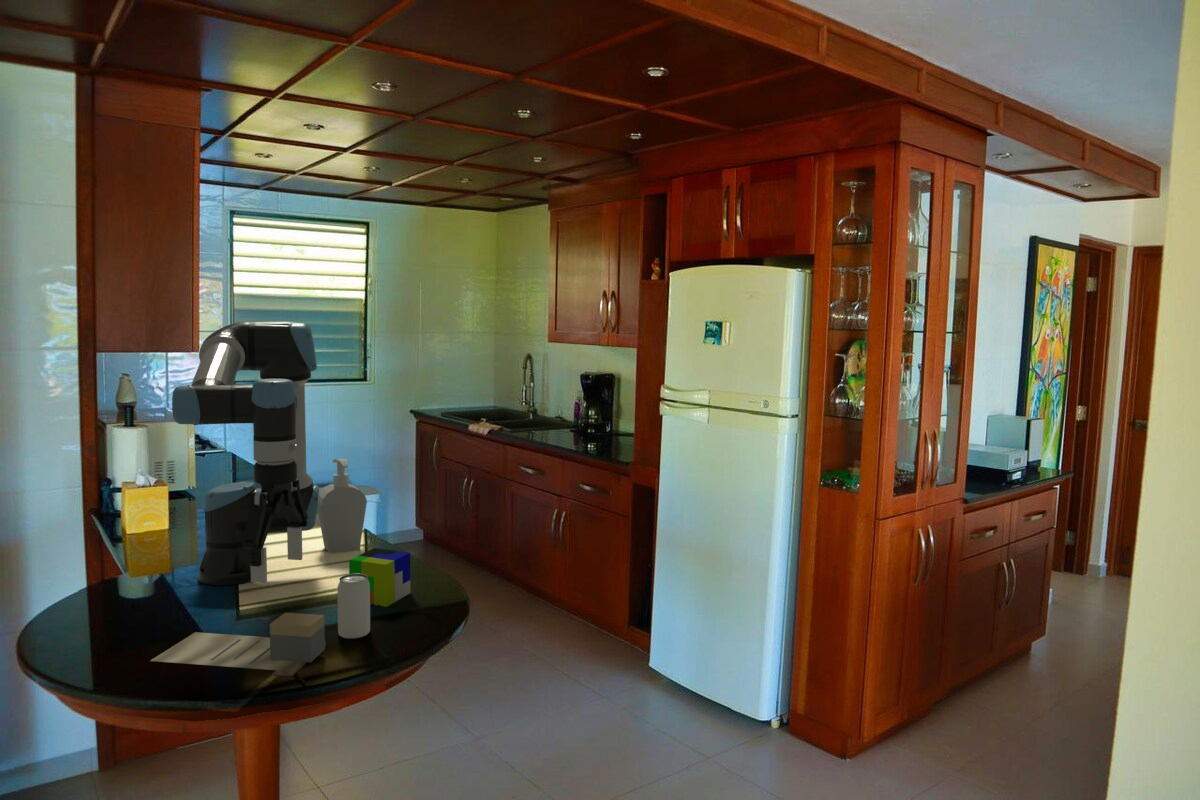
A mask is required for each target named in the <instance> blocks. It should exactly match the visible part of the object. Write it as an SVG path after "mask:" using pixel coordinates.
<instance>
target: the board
mask: <svg viewBox="0 0 1200 800" xmlns="http://www.w3.org/2000/svg"><path fill="white" fill-rule="evenodd" d="M326 645H327V644H326V640H325V647H327V646H326ZM149 662H156V663H157V662H158V663H169V664H171V663H173V664H186V665H199V666H211V667H212V666H215V667H224V668H225V667H227V668H241V669H242V668H243V669H253V670H255V669H256V670H266V671H267V670H268V671H273V672H272V673H271V674H270V675H271V676H280V677H281V676H282V677H283V676H284V677H293V676H294V675H295V674H296V673H297V672H298V671H299V670H301V668H303V667H304V666H305V665H306V664H307V663H308V662H297V661H283V660H271V657H270V636H257V635H256V636H255V635H241V634H230V633H229V634H227V633H226V634H225V633H224V634H223V633H214V632H213V633H212V632H197V631H195V632H193V633H191V634H190V635H189V636H187V637H184V638H183V639H182V640H181V641H179V642H177V643H176V644H174V645H172V646H171V647H170V648H168V649H167V650H165V651H164V652H161V653H160V654H158V655H157V656H155V657H154V658H151V659H150V660H149Z"/></svg>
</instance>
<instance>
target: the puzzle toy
mask: <svg viewBox="0 0 1200 800" xmlns="http://www.w3.org/2000/svg"><path fill="white" fill-rule="evenodd" d="M348 570H349V571H348V574H364V575H366V576H367V577H368V578H367V580H368V581H369V584H370V605H372V604H374V605H373V606H378V605H380V606H379V607H385V608H387V607H388V606H391V605H392V604H394V603H396V602H397V601H399V600H401V599H403V598H404V597H406V596H407V595H410V594H411V552H407V551H399V550H393V549H386V548H385V549H384V548H375V547H373V548H372V549H369V550H368V551H365V552H362V553H360V554H359V555H356V556H354V557H352V558H350V559H348Z"/></svg>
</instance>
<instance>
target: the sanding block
mask: <svg viewBox="0 0 1200 800" xmlns="http://www.w3.org/2000/svg"><path fill="white" fill-rule="evenodd" d="M325 628H326V627H325V614H314V613H313V614H312V613H300V612H299V613H294V612H284V613H283V614H281V615H280V616H278V617H277V618H276V619H275V620H274V621H272V622H271V623H269V637H270V657H271V660H283V661H297V662H307V663H312V662H313V661H314V660H315V659H316V658H317V657H318V656H320V655H321V653H323V652H324V651H325V650H326V646H325V641H326V639H325V634H326V632H325Z"/></svg>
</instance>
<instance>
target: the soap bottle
mask: <svg viewBox="0 0 1200 800" xmlns="http://www.w3.org/2000/svg"><path fill="white" fill-rule="evenodd" d="M332 463H336V473H334V474H333V476H332V477H333V483H330V484H328V485H326V486H324V487H323V488H321V490H319V496H318V506H317V515H318V520H319V525H320V531H321V536H322V541H323V542H322V543H323V545H324V549H325V550H326V551H327V553H328V554H337V553H345V552H353V551H359V550H360V549H361V542H362V537H363V536H362V535H363V529H364V523H365V517H366V511H367V504H368V503H367V502H368V500H367V497H366V495H365V493H363V492H362V491H361V490H360V489H359V488H358V487H356V486H355V485H353V484H351V483H350V482H349V478H350V477H349V473H347V472H346V473H345V469H346V468H348V467H349V465H348V464H349V463H348V459H347V458H336V459H333V460H332Z"/></svg>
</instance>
